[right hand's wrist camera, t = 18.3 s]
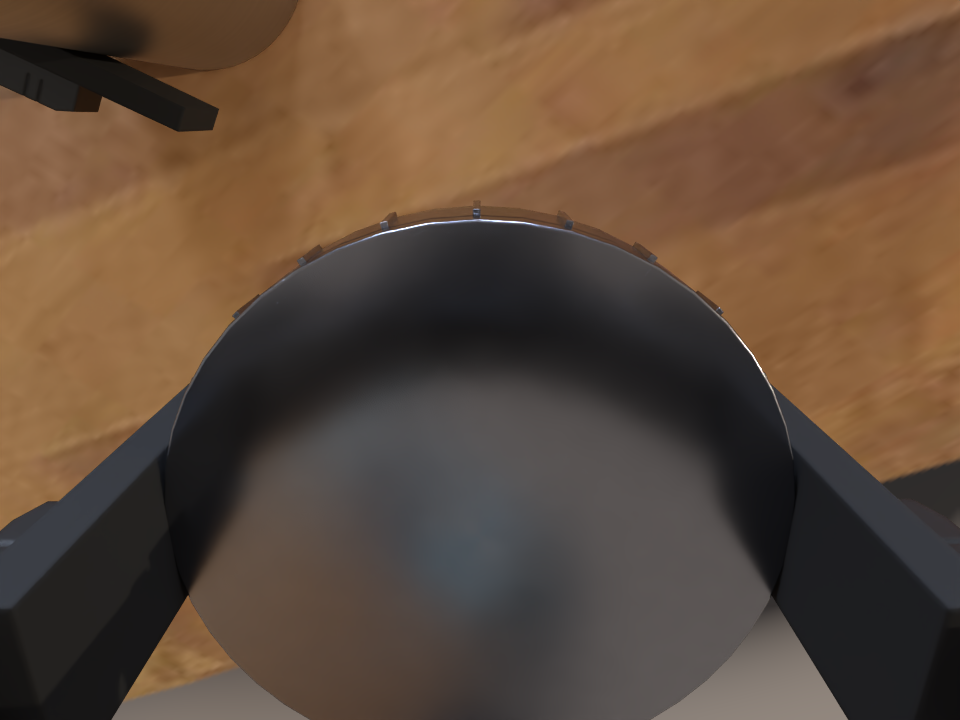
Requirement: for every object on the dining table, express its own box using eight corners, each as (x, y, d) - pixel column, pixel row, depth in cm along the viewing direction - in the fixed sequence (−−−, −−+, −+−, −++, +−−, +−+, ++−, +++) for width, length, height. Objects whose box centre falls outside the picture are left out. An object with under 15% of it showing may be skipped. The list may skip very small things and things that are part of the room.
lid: (816, 603, 13) (860, 666, 11) (356, 750, 14) (342, 824, 13) (661, 93, 10) (693, 88, 8) (86, 345, 11) (26, 381, 9)
